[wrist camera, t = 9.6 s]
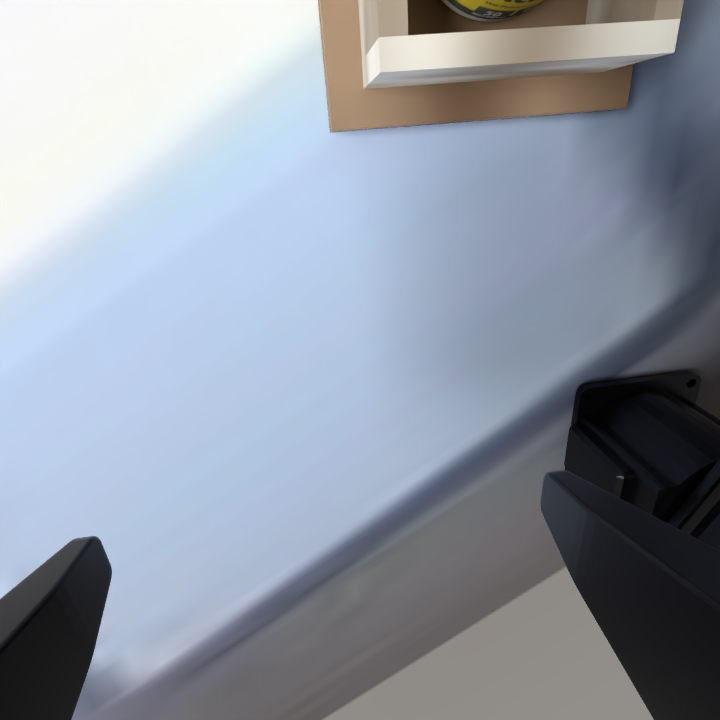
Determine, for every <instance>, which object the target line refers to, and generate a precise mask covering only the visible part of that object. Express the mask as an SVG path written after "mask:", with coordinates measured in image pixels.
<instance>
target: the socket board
mask: <svg viewBox="0 0 720 720" xmlns="http://www.w3.org/2000/svg"><path fill="white" fill-rule="evenodd" d="M683 3H684V0H545V1H543V2H542V3H540V4H538V5H537V6H535V7H533V8H531V9H529V10H527V11H526V12H524V13H522V14H519V15H517V16H515V17H512V18H509V19H506V20H501V21H494V22H482V21H476V20H472V19H468V18H466V17H464V16H461V15H459V14H458V13H456V12H454V11H453V10H451V9H450V8H449V7H448V6H447V5H445V4H444V3H443V2H442V1H441V0H318V6H319V17H320V28H321V39H322V50H323V61H324V72H325V83H326V94H327V105H328V116H329V127H330V132H341V131H354V130H367V129H379V128H392V127H405V126H418V125H431V124H444V123H456V122H469V121H482V120H495V119H508V118H521V117H533V116H546V115H559V114H572V113H585V112H598V111H609V110H616V109H623V108H627V105H628V98H629V92H630V85H631V78H632V72H633V65H634V63H638V62H641V61H645V60H649V59H652V58H656V57H660V56H664V55H667V54H671V53H674V52H675V47H676V41H677V36H678V30H679V25H680V19H681V14H682V8H683Z"/></svg>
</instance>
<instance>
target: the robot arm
mask: <svg viewBox="0 0 720 720" xmlns="http://www.w3.org/2000/svg"><path fill="white" fill-rule="evenodd" d="M688 381H689V382H688ZM687 382H688V383H687ZM700 382H701V379H700V376H698V375H696V374H694V373H693V372H691V371H686V372H678V373H671V374H663V375H655V376H647V377H640V378H632V379H624V380H617V381H609V382H601V383H593V384H586V385H583V386H581V387H580V388H579V389H578V390H577V392H576V395H575V402H574V409H573V416H572V423H571V427H570V429H569V435H568V442H567V449H566V456H565V463H564V465H565V470H559V471H552V472H548V473H546V474H545V476H544V480H543V487H542V495H541V510H542V513H543V516H544V518H545V520H546V522H547V524H548V527H549V529H550V531H551V533H552V535H553V538H554V540H555V542H556V544H557V546H558V549H559V551H560V553H561V555H562V557H563V560H564V562H565V564H566V566H567V568H568V571H569V572H570V575H571V577H572V579H573V581H574V583H575V585H576V586H577V588H578V590H579V592H580V594H581V595H582V597H583V599H584V601H585V602H586V604H587V606H588V608H589V609H590V611H591V613H592V614H593V616H594V618H595V620H596V621H597V623H598V625H599V626H600V628H601V630H602V631H603V633H604V635H605V637H606V638H607V640H608V642H609V643H610V645H611V647H612V649H613V650H614V652H615V654H616V656H617V657H618V659H619V661H620V662H621V664H622V666H623V668H624V669H625V671H626V673H627V674H628V676H629V677H630V680H631V681H632V683H633V685H634V686H635V688H636V690H637V692H638V693H639V695H640V697H641V698H642V700H643V702H644V703H645V705H646V707H647V709H648V710H649V712H650V714H651V715H652V717H653V719H654V720H720V420H719V419H718V418H716V417H715V416H713V415H711V414H710V413H708V412H707V411H705V410H703V409H702V408H700V407H699V406H697V405H696V404H695V401H696V397H697V393H698V390H699V386H700ZM587 393H589V395H588V396H587V397H585V395H586V394H587ZM111 576H112V569H111V565H110V562H109V560H108V557H107V555H106V552H105V550H104V548H103V545H102V543H101V541H100V539H99V538H98V537H96V536H90V537H83V538H77V539H74V540H72V541H70V542H69V543H68V544H67V545H65V546H64V547H63V548H62V549H61V550H59V551H58V552H57V553H56V554H54V555H53V556H52V557H51V558H50V559H48V560H47V561H46V562H45V563H44V564H42V565H41V566H40V567H39V568H37V569H36V570H35V571H34V572H33V573H31V574H30V575H29V576H28V577H27V578H25V579H24V580H23V581H22V582H20V583H19V584H18V585H17V586H16V587H14V588H13V589H12V590H11V591H9V592H8V593H7V594H6V595H5V596H3V597H2V598H1V599H0V720H71V719H72V716H73V713H74V710H75V707H76V704H77V701H78V699H79V696H80V693H81V690H82V687H83V684H84V681H85V678H86V676H87V672H88V669H89V666H90V663H91V660H92V656H93V652H94V649H95V645H96V640H97V636H98V632H99V628H100V624H101V619H102V615H103V611H104V607H105V603H106V598H107V594H108V590H109V586H110V582H111Z"/></svg>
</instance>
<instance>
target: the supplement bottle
mask: <svg viewBox="0 0 720 720" xmlns="http://www.w3.org/2000/svg"><path fill="white" fill-rule="evenodd" d="M441 1H442V2H443V3H444V4H445V5H447V6H448V7H449V8H450V9H451V10H453V11H454V12H456V13H458V14H459V15H461V16H464V17H466V18H468V19H472V20H476V21H482V22H494V21H501V20H506V19H509V18H512V17H515V16H517V15H519V14H522V13H524V12H526V11H527V10H529V9H531V8H533V7H535V6H537V5H538V4H540V3H542V2H543V1H545V0H441Z"/></svg>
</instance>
